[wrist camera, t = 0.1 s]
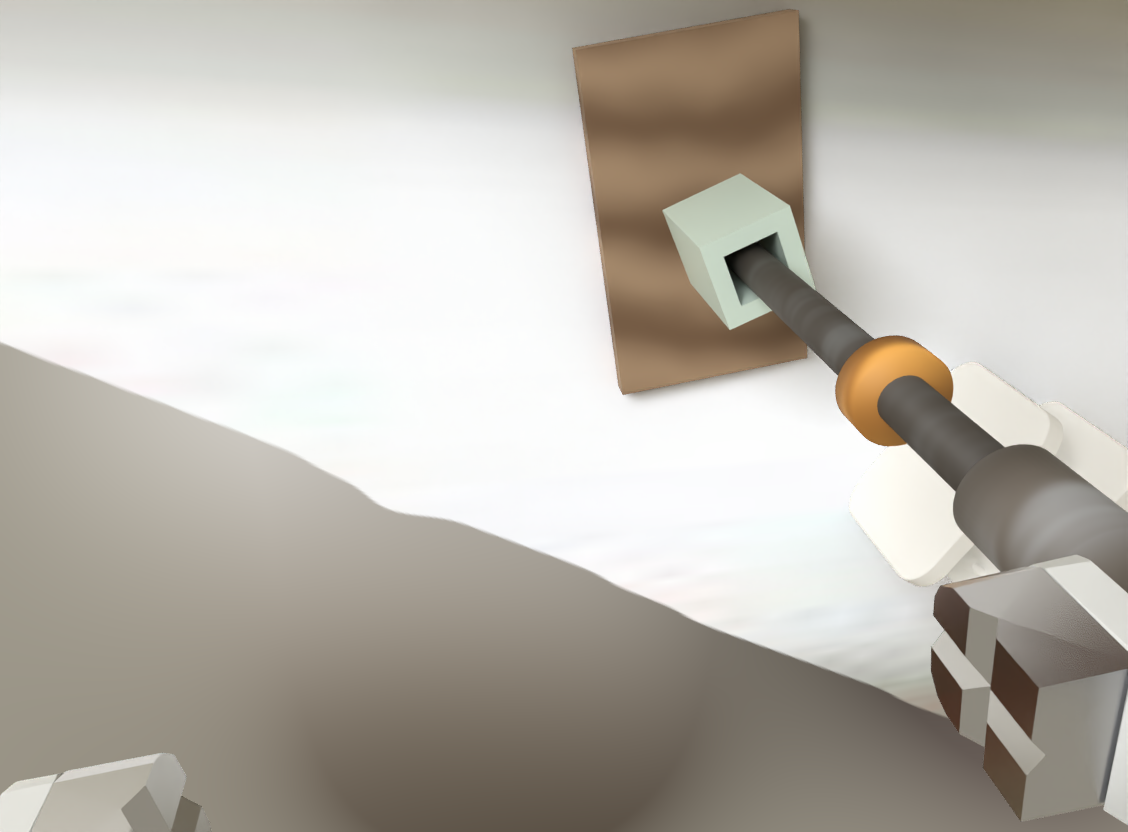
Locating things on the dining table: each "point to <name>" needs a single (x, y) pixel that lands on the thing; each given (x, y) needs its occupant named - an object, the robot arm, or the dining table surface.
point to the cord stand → (788, 280)
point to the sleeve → (733, 243)
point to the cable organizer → (925, 501)
